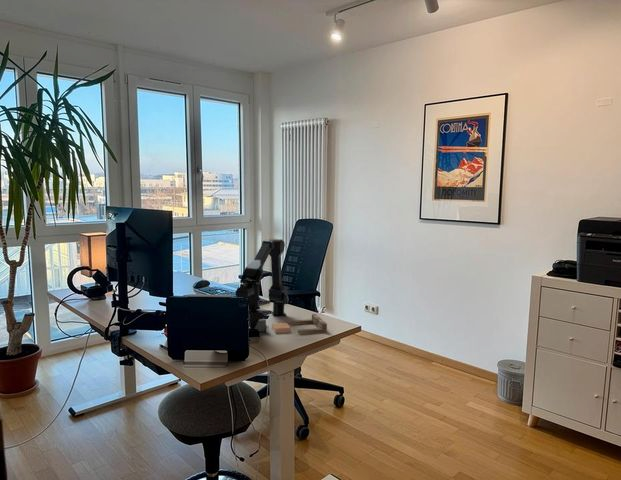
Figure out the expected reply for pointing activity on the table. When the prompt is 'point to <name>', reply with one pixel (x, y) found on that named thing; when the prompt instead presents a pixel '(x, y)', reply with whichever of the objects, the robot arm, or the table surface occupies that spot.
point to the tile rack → (315, 320)
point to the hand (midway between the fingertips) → (251, 328)
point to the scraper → (261, 325)
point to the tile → (280, 327)
